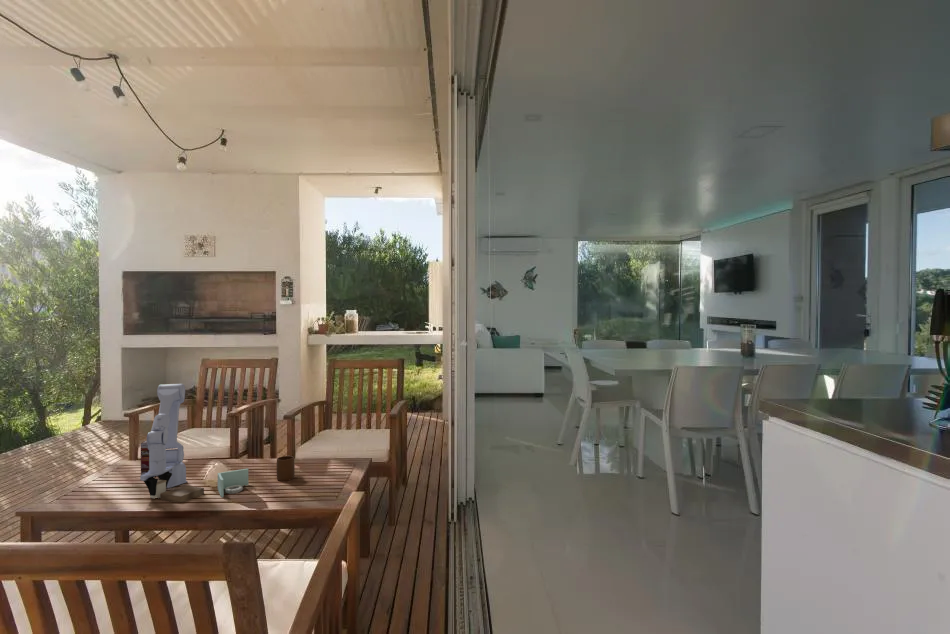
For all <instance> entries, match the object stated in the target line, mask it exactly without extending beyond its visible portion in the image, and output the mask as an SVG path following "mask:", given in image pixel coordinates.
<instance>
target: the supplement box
mask: <svg viewBox="0 0 950 634" xmlns="http://www.w3.org/2000/svg"><path fill="white" fill-rule="evenodd" d="M148 471H149V450H148V445H147V440H145V441H143V442H140V476H141V475H143V474H145V473H147V472H148Z"/></svg>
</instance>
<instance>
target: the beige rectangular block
mask: <svg viewBox="0 0 950 634" xmlns="http://www.w3.org/2000/svg"><path fill="white" fill-rule="evenodd" d="M157 479H158V481H157V484H156V494H155V495H154V496H152V495H150V494H149V499H155V498H158V499H160V494H161V493H164V492H166V491H167V488H166V480H160V479H159V478H157Z"/></svg>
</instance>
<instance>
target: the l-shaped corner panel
mask: <svg viewBox="0 0 950 634" xmlns="http://www.w3.org/2000/svg"><path fill="white" fill-rule="evenodd" d="M244 485H245V486H249V468H242V469H241V468H240V469H236V470H228V471H223V472H217V491H218V493H219V497H220V498H224V493H225V494H229V495H231V494H238V493H240V492H241V491H243V490H244V487H245V486H244Z"/></svg>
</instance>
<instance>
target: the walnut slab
mask: <svg viewBox="0 0 950 634" xmlns="http://www.w3.org/2000/svg"><path fill="white" fill-rule="evenodd" d="M203 495H205V488H204V487H200V486H192V485H185V484H183V485H181V486H179V487H175V488H173V489H170V490H166V492H164V493H161V494H160V498H159V499H160V501H165V502H172V503H178V502H182V503H183V502H184V503H185V502H186V501H189V500H192V499H195V498H198V497H200V496H203Z"/></svg>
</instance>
